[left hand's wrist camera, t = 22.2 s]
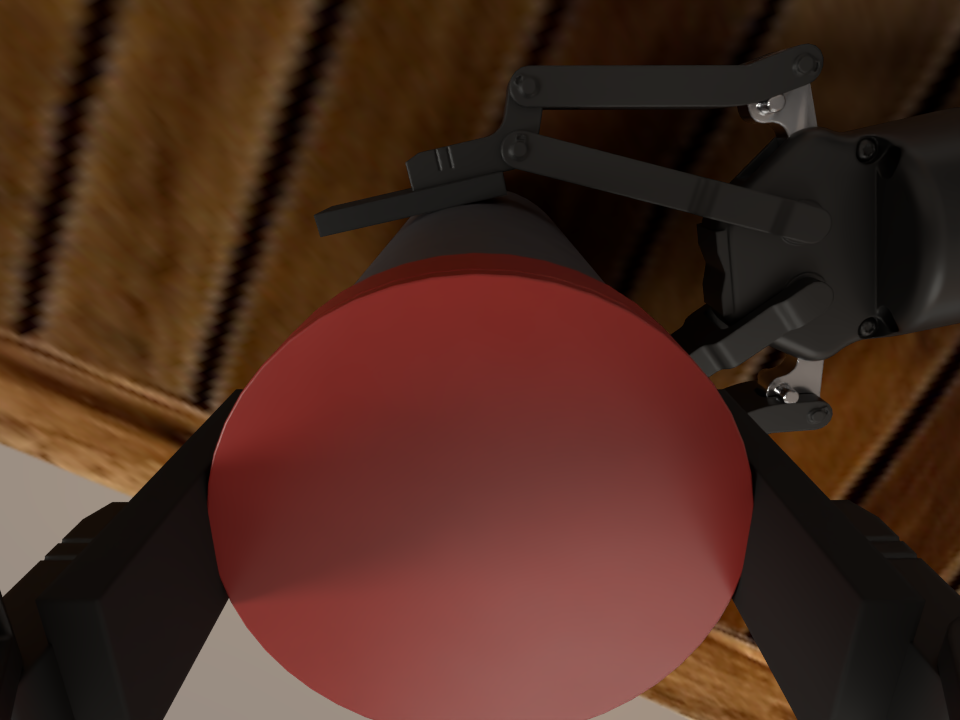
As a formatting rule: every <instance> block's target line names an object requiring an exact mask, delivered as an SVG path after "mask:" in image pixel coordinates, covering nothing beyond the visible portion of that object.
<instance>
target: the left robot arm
mask: <svg viewBox="0 0 960 720" xmlns="http://www.w3.org/2000/svg"><path fill="white" fill-rule="evenodd" d="M243 390H244V389H236V390H235V391H234V392H233V393H232V394H231V395H230V396H229V397H228V398H227V400H226V401H225V402H224V403H223V404H222V405H221V406H220V407H219V408H218V409H217V410H216V411H215V412H214V413H213V414H212V415H211V416H210V417H209V418H208V419H207V420H206V422H205V423H204V424H203V425H202V426H201V427H200V428H199V429H198V430H197V431H196V432H195V433H194V434H193V435H192V436H191V437H190V438H189V439H188V440H187V441H186V442H185V444H184V445H183V446H182V447H181V448H180V449H179V450H178V451H177V452H176V453H175V454H174V455H173V456H172V457H171V458H170V459H169V460H168V461H167V462H166V463H165V464H164V465H163V467H162V468H161V469H160V470H159V471H158V472H157V473H156V474H155V475H154V476H153V477H152V478H151V479H150V480H149V481H148V482H147V483H146V484H145V485H144V486H143V487H142V489H141V490H140V491H139V492H138V493H137V494H136V495H135V496H134V497H133V498H132V499H131V500H130V501H129V502H112V503H110V504H108V505H107V506H105V507H103V508H101V509H100V510H98V511H96V512H95V513H93V514H91V515H90V516H88V517H86V518H84V519H83V520H82V521H81V522H80V523H79V524H78V525H77V526H76V527H75V528H73V529H72V530H71V531H70V532H69V533H68V534H67V535H66V536H65V537H64V538H63V539H62V543H58V544H57V545H56V546H55V547H54V548H53V549H52V550H51V551H50V552H49V553H48V554H47V555H46V556H45V560H44V561H40V562H38V563H37V565H35V566H34V567H33V568H32V569H31V570H30V571H29V572H28V573H27V574H26V575H25V576H24V577H23V578H22V579H21V580H20V581H19V582H18V583H17V584H16V585H15V586H14V587H13V588H12V589H11V590H10V591H9V592H7V593H6V594H5V595H4V596H3V597H2V594H1V591H0V720H163V719H164V717H165V715H166V713H167V711H168V709H169V708H170V706H171V704H172V702H173V700H174V698H175V697H176V695H177V693H178V691H179V689H180V687H181V686H182V684H183V682H184V680H185V678H186V676H187V674H188V673H189V671H190V669H191V667H192V665H193V663H194V661H195V659H196V658H197V656H198V654H199V652H200V650H201V649H202V647H203V645H204V643H205V641H206V639H207V637H208V636H209V634H210V632H211V630H212V628H213V626H214V625H215V623H216V621H217V619H218V617H219V615H220V613H221V612H222V610H223V608H224V606H225V604H226V602H227V601H228V599H229V596H228V594H227V592H226V590H225V587H224V585H223V583H222V581H221V578H220V576H219V571H218V566H217V560H216V555H215V549H214V543H213V538H212V532H211V526H210V521H209V515H208V508H207V497H208V481H209V475H210V470H211V465H212V460H213V454H214V451H215V448H216V445H217V443H218V440H219V437H220V434H221V432H222V429H223V426H224V423H225V421H226V419H227V417H228V416H229V414H230V412H231V410H232V408H233V406H234V405H235V403H236V401H237V399H238V397H239V396H240V394H241V392H242V391H243ZM717 390H718V392H719V393H720V395H721V397H722V398H723V400H724V402H725V403H726V405H727V406H728V408H729V410H730V411H731V413H732V415H733V418H734V420H735V423H736V425H737V427H738V430H739V432H740V435H741V437H742V439H743V442H744V445H745V449H746V453H747V457H748V462H749V466H750V470H751V474H752V486H753V499H754V506H753V512H752V519H751V524H750V530H749V536H748V541H747V547H746V553H745V558H744V564H743V569H742V574H741V577H740V579H739V582H738V584H737V587H736V590H735V592H734V594H733V596H732V599H733V601H734V603H735V605H736V607H737V609H738V610H739V612H740V614H741V616H742V618H743V620H744V621H745V623H746V625H747V627H748V629H749V631H750V633H751V634H752V636H753V638H754V640H755V642H756V644H757V646H758V647H759V649H760V651H761V653H762V655H763V657H764V658H765V660H766V662H767V664H768V666H769V668H770V670H771V671H772V673H773V675H774V677H775V679H776V681H777V682H778V684H779V686H780V688H781V690H782V692H783V694H784V695H785V697H786V699H787V701H788V703H789V705H790V706H791V708H792V710H793V712H794V714H795V716H796V718H797V719H798V720H960V595H959V594H957V593H956V592H955V591H954V590H953V589H952V588H951V587H950V586H949V585H948V584H947V583H946V582H945V581H944V580H943V579H942V578H941V577H940V576H939V575H938V574H937V573H936V572H935V571H934V570H933V569H932V568H930V567H929V566H928V565H927V564H926V563H925V562H924V561H923V560H922V559H921V558H917V556H916V553H915V552H914V551H913V550H912V549H911V548H910V547H909V546H908V545H907V544H906V543H905V542H903V541H899V537H898V536H897V535H896V534H895V533H894V532H893V531H892V530H891V529H890V528H889V527H888V526H887V525H886V524H885V523H884V522H883V521H882V520H881V519H880V518H879V517H877V516H875V515H874V514H872V513H870V512H868V511H867V510H865V509H863V508H861V507H860V506H858V505H856V504H855V503H853V502H851V501H849V500H830V499H829V498H828V497H827V496H826V495H825V494H824V493H823V492H822V491H821V490H820V489H819V488H818V487H817V486H816V485H815V484H814V483H813V481H812V480H811V479H810V478H809V477H808V476H807V475H806V474H805V473H804V472H803V471H802V470H801V469H800V468H799V467H798V466H797V465H796V464H795V463H794V462H793V461H792V460H791V458H790V457H789V456H788V455H787V454H786V453H785V452H784V451H783V450H782V449H781V448H780V447H779V446H778V445H777V444H776V443H775V442H774V441H773V440H772V439H771V438H770V437H769V435H768V434H767V433H766V432H765V431H764V430H763V429H762V428H761V427H760V426H759V425H758V424H757V423H756V422H755V421H754V420H753V419H752V418H751V417H750V416H749V415H748V413H747V412H746V411H745V410H744V409H743V408H742V407H741V406H740V405H739V404H738V403H737V402H736V401H735V400H734V399H733V398H732V397H731V396H730V395H729V394H728V393H727V392H726V390H725V389H717Z"/></svg>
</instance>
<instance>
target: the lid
mask: <svg viewBox="0 0 960 720" xmlns="http://www.w3.org/2000/svg"><path fill="white" fill-rule="evenodd" d="M753 506H754V499H753V486H752V474H751V470H750V466H749V462H748V457H747V453H746V449H745V445H744V442H743V439H742V437H741V435H740V432H739V430H738V427H737V425H736V423H735V420H734V418H733V415H732V413H731V411H730V410H729V408H728V406H727V405H726V403H725V402H724V400H723V398H722V397H721V395H720V393H719V392H718V390H717V389H716V387H715V385H714V384H713V382H712V381H711V380H710V379H709V378H708V377H707V375H706V374H705V373H704V372H703V371H702V369H701V368H700V367H699V366H698V365H697V364H696V362H695V361H694V360H693V359H692V358H691V356H690V355H689V354H688V353H687V352H686V351H685V350H684V349H683V348H682V347H681V346H680V345H679V344H678V343H677V342H676V341H675V340H674V339H673V338H672V336H671V335H670V334H669V333H668V332H667V331H666V330H665V329H664V328H663V327H662V326H661V325H660V324H659V323H658V322H657V321H655V320H654V319H653V318H652V317H651V316H650V315H649V314H648V313H646V312H645V311H644V310H643V309H642V308H641V307H640V306H638V305H637V304H636V303H634V302H633V301H631V300H630V299H628V298H627V297H625V296H624V295H622V294H621V293H619V292H618V291H616V290H615V289H613V288H612V287H610V286H608V285H606V284H604V283H602V282H600V281H598V280H596V279H594V278H592V277H589V276H587V275H585V274H583V273H581V272H579V271H576V270H573V269H570V268H567V267H564V266H560V265H557V264H554V263H551V262H548V261H544V260H539V259H533V258H528V257H522V256H516V255H511V254H490V253H467V254H455V255H444V256H437V257H432V258H428V259H423V260H418V261H414V262H409V263H405V264H402V265H399V266H397V267H394V268H391V269H389V270H386V271H383V272H380V273H378V274H375V275H372V276H370V277H368V278H367V279H365V280H363V281H361V282H359V283H357V284H355V285H353V286H351V287H350V288H348V289H346V290H344V291H342V292H341V293H339V294H338V295H337V296H335V297H334V298H332V299H331V300H330V301H328V302H327V303H325V304H324V305H323V306H321V307H320V308H319V309H317V310H316V311H315V312H314V313H313V314H312V315H311V316H310V317H309V318H308V319H306V320H305V321H304V322H303V323H302V324H301V325H300V326H299V327H298V328H297V329H296V330H295V331H294V332H293V333H292V334H291V335H290V336H289V337H288V338H287V339H286V340H285V341H284V343H283V344H282V345H281V346H280V347H279V348H278V349H277V350H276V351H275V352H274V353H273V354H272V355H271V356H270V358H268V360H267V361H266V362H265V363H264V364H263V365H262V366H261V367H260V369H259V370H258V371H257V373H256V374H255V375H254V377H253V378H252V379H251V380H250V382H249V383H248V384H247V386H246V387H245V388H244V390H243V391H242V392H241V394H240V396H239V397H238V399H237V401H236V403H235V405H234V406H233V408H232V410H231V412H230V414H229V416H228V417H227V419H226V421H225V423H224V426H223V429H222V432H221V434H220V437H219V440H218V443H217V445H216V448H215V451H214V454H213V460H212V465H211V470H210V475H209V481H208V497H207V508H208V515H209V521H210V526H211V532H212V538H213V543H214V549H215V555H216V560H217V566H218V571H219V576H220V578H221V581H222V583H223V585H224V587H225V590H226V592H227V594H228V596H229V599H230V601H231V603H232V604H233V606H234V608H235V609H236V611H237V612H238V614H239V616H240V617H241V619H242V621H243V622H244V624H245V625H246V627H247V628H248V629H249V631H250V632H251V633H252V634H253V636H254V637H255V638H256V639H257V640H258V642H259V643H260V644H261V645H262V647H263V648H264V649H265V650H266V651H267V652H268V653H269V654H270V655H271V656H272V657H273V658H274V659H275V660H276V661H277V662H278V663H279V664H281V665H282V666H283V667H284V668H285V669H286V670H287V671H288V672H289V673H291V674H292V675H293V676H295V677H296V678H297V679H299V680H300V681H301V682H303V683H304V684H305V685H307V686H308V687H309V688H311V689H312V690H314V691H316V692H317V693H319V694H321V695H322V696H324V697H326V698H327V699H329V700H331V701H333V702H334V703H336V704H338V705H340V706H342V707H344V708H347V709H349V710H351V711H353V712H355V713H358V714H360V715H362V716H364V717H367V718H370V719H373V720H587V719H590V718H593V717H596V716H598V715H601V714H604V713H606V712H608V711H610V710H612V709H614V708H616V707H618V706H620V705H622V704H624V703H626V702H628V701H630V700H632V699H634V698H635V697H637V696H638V695H640V694H641V693H643V692H645V691H646V690H648V689H649V688H651V687H652V686H654V685H656V684H657V683H658V682H660V681H661V680H662V679H663V678H665V677H666V676H667V675H668V674H670V673H671V672H672V671H673V670H674V669H676V668H677V667H678V666H679V665H681V664H682V663H683V662H684V661H685V659H686V658H687V657H688V656H689V655H690V654H691V653H692V652H693V651H694V650H695V649H696V648H697V647H698V646H699V645H700V644H701V643H702V642H703V640H704V639H705V638H706V636H707V635H708V634H709V632H710V631H711V630H712V628H713V627H714V626H715V625H716V623H717V622H718V621H719V619H720V617H721V616H722V614H723V612H724V610H725V608H726V607H727V605H728V603H729V601H730V600H731V598H732V596H733V594H734V592H735V590H736V587H737V584H738V582H739V579H740V577H741V574H742V569H743V564H744V558H745V553H746V547H747V541H748V536H749V530H750V524H751V519H752V512H753Z"/></svg>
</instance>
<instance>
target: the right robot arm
mask: <svg viewBox="0 0 960 720" xmlns="http://www.w3.org/2000/svg"><path fill="white" fill-rule="evenodd" d="M822 67H823V55H822V53H821V50H820V49H819V48H817V47H816V46H815V45H812V44H803V45H798V46H795V47H791V48H788V49H784V50H780V51H777V52H773V53H770V54H766V55H764V56H761V57H759V58H756V59H753V60H751V61H748V62H745V63H743V64H740V65H644V66H526V67H521V68H520V69H519V70H517V71H516V72H515V73H514V75H513V76H512V78H511V80H510V81H509V83H508V86H507V91H506V92H507V93H506V100H505V108H504V115H503V120H502V123H501V125H500V127H499V128H498V130H497V131H496V132H495V133H493V134H492V135H490V136H487V137H484V138H480V139H476V140H471V141H467V142H463V143H458V144H454V145H450V146H446V147H441V148H437V149H433V150H429V151H424V152H421V153H418V154H417V155H415V156H414V157H413V158H411V159H410V160H408V161H407V162H406V167H407V171H408V175H409V179H410V183H411V187H412V188H409V189H405V190H401V191H396V192H392V193H388V194H383V195H379V196H375V197H370V198H366V199H362V200H357V201H353V202H349V203H344V204H340V205H336V206H332V207H330V208H327V209H325V210H323V211H321V212H319V213H317V214H315V215H314V217H315V221H316V224H317V227H318V230H319V234H320V237H323V236H327V235H332V234H336V233H341V232H345V231H349V230H354V229H358V228H363V227H367V226H371V225H376V224H380V223H385V222H389V221H394V220H398V219H402V218H407V217H411V216H416V215H420V214H424V213H429V212H433V211H438V210H442V209H446V208H451V207H455V206H460V205H464V204H468V203H473V202H477V201H482V200H486V199H490V198H495V197H499V196H504V195H507V191H506V186H505V181H504V176H503V172H504V171H509V170H513V169H519V170H523V171H527V172H531V173H535V174H539V175H543V176H547V177H551V178H554V179H558V180H562V181H566V182H570V183H574V184H578V185H582V186H586V187H590V188H594V189H598V190H602V191H606V192H610V193H614V194H617V195H621V196H625V197H629V198H633V199H637V200H641V201H645V202H649V203H653V204H657V205H661V206H665V207H669V208H673V209H676V210H680V211H684V212H688V213H692V214H695V215H699V216H702V217H703V220H702V223H700V224H697V232H698V243H699V246H700V249H701V251H702V254H703V256H704V259H705V261H706V267H705V272H704V278H703V293H704V302H705V303H706V304H705V305H703V306H702V307H701V308H699V309H698V310H696V311H695V312H694V313H692V314H691V315H690V316H688V317H687V319H686V320H685V322H684V325H683V326H682V327H681V328H680V329H678V330H677V331H675V332H674V333H672V334H671V336H672V338H673V339H674V340H675V341H676V342H677V343H678V344H679V345H680V346H681V347H682V348H683V349H684V350H685V351H686V352H687V353H688V354H689V355H690V356H691V358H692V359H693V360H694V361H695V362H696V364H697V365H698V366H699V367H700V368H701V369H702V371H703V372H704V373H705V374H706V375H707V377H710V376H711V375H713V374H714V373H716V372H717V371H719V370H722V369H731V368H734V367H736V366H738V365H740V364H741V363H743V362H744V361H746V360H747V359H749V358H750V357H752V356H753V355H755V354H756V353H758V352H759V351H761V350H762V349H764V348H765V347H767V346H771V347H773V348H775V349H778V350H780V351H782V352H784V353H787V355H786V358H785V359H784V361H783V362H782V363H781V364H780V365H778V366H777V367H774V368H771V369H763V370H761V371H760V372H759V373H758V380H755V381H748V382H744V383H739V384H736V385H733V386H730V387H727V388H725V390H726V392H727V393H728V394H729V395H730V396H731V397H732V398H733V399H734V400H735V401H736V402H737V403H738V404H739V405H740V406H741V407H742V408H743V409H744V410H745V411H746V412H747V413H748V415H749V416H750V417H751V418H752V419H753V420H754V421H755V422H756V423H757V424H758V425H759V426H760V427H761V428H762V429H763V430H764V431H765V432H766V433H767V434H770V433H776V432H790V431H803V430H815V429H820V428H822V427H824V426H825V425H827V424H828V422H829V421H830V420H831V417H832V408H831V407H830V405H829V404H828V403H827V402H825V401H824V400H823V399H821V398H820V388H821V380H822V371H823V362H824V359H827V358H829V357H831V356H833V355H834V354H836V353H837V352H838V351H840V350H841V349H843V348H844V347H846V346H848V345H849V344H851V343H854V342H856V341H859V340H863V339H870V338H881V337H890V336H897V335H903V334H908V333H912V332H917V331H922V330H927V329H932V328H937V327H942V326H947V325H952V324H957V323H960V107H956V108H949V109H944V110H940V111H935V112H931V113H927V114H922V115H918V116H913V117H909V118H904V119H900V120H896V121H891V122H887V123H882V124H878V125H874V126H869V127H865V128H860V129H856V130H851V131H847V132H841V133H840V132H835V131H832V130H829V129H827V128H823V127H817V121H816V115H815V109H814V103H813V97H812V91H811V85H810V83H811V82H812V81H814V80H815V79H816V78H817V77H818V75H819V74H820V72H821V70H822ZM734 106H737V108H738V112H739V115H740V117H741V118H742V119H743V120H744V121H746V122H747V123H751V124H754V123H765V124H768V125H769V126H771V127H772V128H773V130H774V131H775V134H776V137H775V138H774V139H773V140H772V141H771V142H770V143H769V144H768V145H767V146H766V147H765V148H764V149H763V150H762V151H761V152H760V153H759V154H758V155H757V156H756V157H755V158H754V159H753V160H752V161H751V162H750V163H749V164H748V165H747V166H746V167H745V168H744V169H743V170H742V171H741V172H740V173H739V174H738V175H737V176H736V177H735V178H734V179H733V180H732V181H731V182H730V183H729V184H728V183H725V182H721V181H717V180H713V179H708V178H704V177H700V176H696V175H692V174H689V173H685V172H681V171H677V170H673V169H669V168H665V167H662V166H658V165H654V164H650V163H646V162H642V161H639V160H635V159H631V158H627V157H623V156H619V155H615V154H612V153H608V152H604V151H600V150H596V149H592V148H588V147H585V146H581V145H577V144H573V143H569V142H565V141H561V140H558V139H554V138H550V137H546V136H542V135H539V129H540V123H541V116H542V110H679V109H715V108H725V107H734Z"/></svg>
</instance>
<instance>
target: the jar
mask: <svg viewBox="0 0 960 720" xmlns="http://www.w3.org/2000/svg"><path fill="white" fill-rule="evenodd" d="M467 253H490V254H511V255H516V256H522V257H528V258H533V259H539V260H544V261H548V262H551V263H554V264H557V265H560V266H564V267H567V268H570V269H573V270H576V271H579V272H581V273H583V274H585V275H587V276H589V277H592V278H594V279H596V280H598V281H600V282H602V283H604V282H603V280H602V279H601V278H600V277H599V276H598V274H597V273H596V272H595V271H594V270H593V268H592V267H591V266H590V265H589V264H588V263H587V261H586V260H585V259H584V258H583V257H582V255H581V254H580V253H579V252H578V251H577V249H576V248H575V247H574V246H573V245H572V243H571V242H570V241H569V240H568V239H567V237H566V236H565V235H564V234H563V233H562V231H561V230H560V229H559V228H558V227H557V225H556V224H555V223H554V222H553V221H552V220H551V218H550V217H549V216H548V215H547V214H546V213H545V212H544V211H543V210H541V209H540V208H539V207H538V206H537V205H535V204H534V203H532V202H531V201H529V200H528V199H526V198H524V197H522V196H520V195H518V194H516V193H513V192H510V191H507V195H504V196H499V197H495V198H490V199H486V200H482V201H477V202H473V203H468V204H464V205H460V206H455V207H451V208H446V209H442V210H438V211H433V212H429V213H424V214H420V215H416V216H411V217H410V219H409V220H408V221H407V222H406V223H405V225H404V226H403V227H402V228H401V229H400V230H399V232H398V233H397V234H396V235H395V236H394V238H393V239H392V240H391V241H390V242H389V244H388V245H387V246H386V247H385V248H384V250H383V251H382V252H381V253H380V254H379V256H378V257H377V258H376V259H375V260H374V262H373V263H372V264H371V265H370V266H369V268H368V269H367V270H366V271H365V272H364V274H363V275H362V276H361V277H360V278H359V280H358V281H357V282H356V283H355V284H357V283H359V282H361V281H363V280H365V279H367V278H368V277H370V276H372V275H375V274H378V273H380V272H383V271H386V270H389V269H391V268H394V267H397V266H399V265H402V264H405V263H409V262H414V261H418V260H423V259H428V258H432V257H437V256H444V255H455V254H467ZM355 284H354V285H355ZM604 284H605V283H604Z"/></svg>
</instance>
